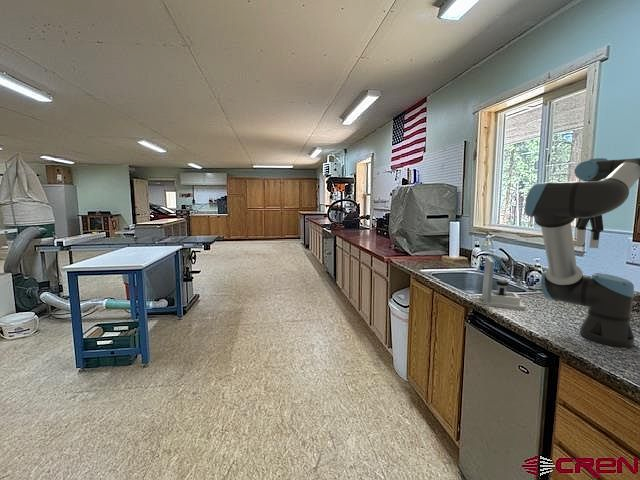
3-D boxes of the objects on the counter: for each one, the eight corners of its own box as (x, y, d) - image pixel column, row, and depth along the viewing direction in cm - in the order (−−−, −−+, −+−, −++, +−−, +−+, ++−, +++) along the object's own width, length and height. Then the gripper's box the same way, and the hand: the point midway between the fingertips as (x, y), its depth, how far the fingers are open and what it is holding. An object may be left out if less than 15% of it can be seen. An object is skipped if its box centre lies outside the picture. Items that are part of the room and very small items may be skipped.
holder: (524, 309, 153) (529, 264, 151) (486, 305, 158) (490, 261, 156) (516, 299, 170) (520, 258, 168) (482, 296, 175) (485, 256, 173)
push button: (509, 299, 165) (511, 279, 164) (510, 302, 160) (512, 282, 159) (494, 297, 168) (496, 278, 167) (494, 299, 163) (496, 280, 162)
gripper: (618, 195, 126) (611, 250, 128) (590, 197, 149) (584, 243, 152) (594, 195, 128) (588, 248, 131) (570, 196, 152) (565, 242, 154)
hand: (586, 246), depth 141 cm, fingers open, 13 cm apart
